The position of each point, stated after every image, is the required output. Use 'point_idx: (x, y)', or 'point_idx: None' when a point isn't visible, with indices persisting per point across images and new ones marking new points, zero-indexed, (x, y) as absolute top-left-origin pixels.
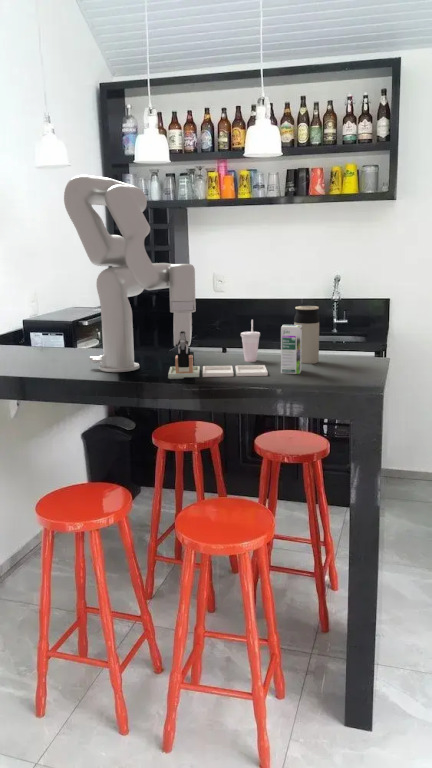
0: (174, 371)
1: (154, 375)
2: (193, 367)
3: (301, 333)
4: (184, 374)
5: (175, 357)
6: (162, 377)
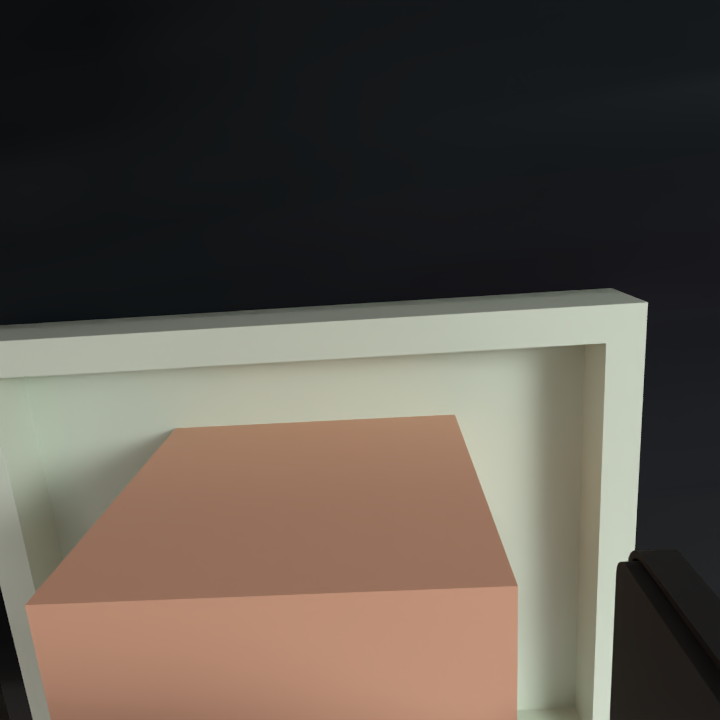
0: (464, 378)
1: (274, 28)
2: (590, 681)
3: None
4: (11, 594)
5: (158, 600)
6: (111, 209)
